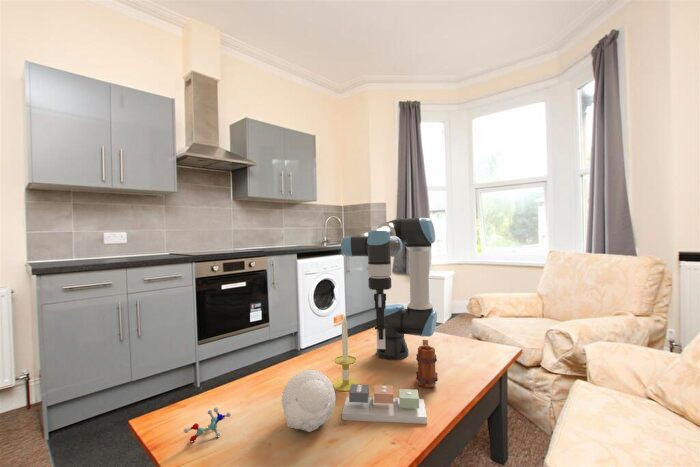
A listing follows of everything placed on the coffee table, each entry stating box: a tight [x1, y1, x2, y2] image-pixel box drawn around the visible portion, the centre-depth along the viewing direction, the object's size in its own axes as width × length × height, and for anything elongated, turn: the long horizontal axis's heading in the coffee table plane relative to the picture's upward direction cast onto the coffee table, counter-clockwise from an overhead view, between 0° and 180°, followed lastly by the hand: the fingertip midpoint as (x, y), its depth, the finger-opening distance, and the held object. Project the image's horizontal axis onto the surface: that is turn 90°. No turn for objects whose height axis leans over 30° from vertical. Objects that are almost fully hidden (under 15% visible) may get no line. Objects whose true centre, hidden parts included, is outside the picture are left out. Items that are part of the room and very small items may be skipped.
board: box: [341, 395, 428, 425], centre depth 107 cm, size 11×26×3 cm, turn 83°
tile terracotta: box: [373, 384, 394, 404], centre depth 107 cm, size 6×6×3 cm
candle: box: [332, 316, 359, 392], centre depth 127 cm, size 10×10×27 cm
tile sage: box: [398, 388, 420, 408], centre depth 106 cm, size 6×6×3 cm
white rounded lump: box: [281, 369, 336, 433], centre depth 101 cm, size 20×18×16 cm
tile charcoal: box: [348, 383, 370, 403], centre depth 108 cm, size 6×6×3 cm
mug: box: [415, 339, 439, 389], centre depth 128 cm, size 15×8×15 cm, turn 168°
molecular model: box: [183, 407, 232, 442], centre depth 96 cm, size 12×10×10 cm
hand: (381, 348), depth 109 cm, fingers closed
